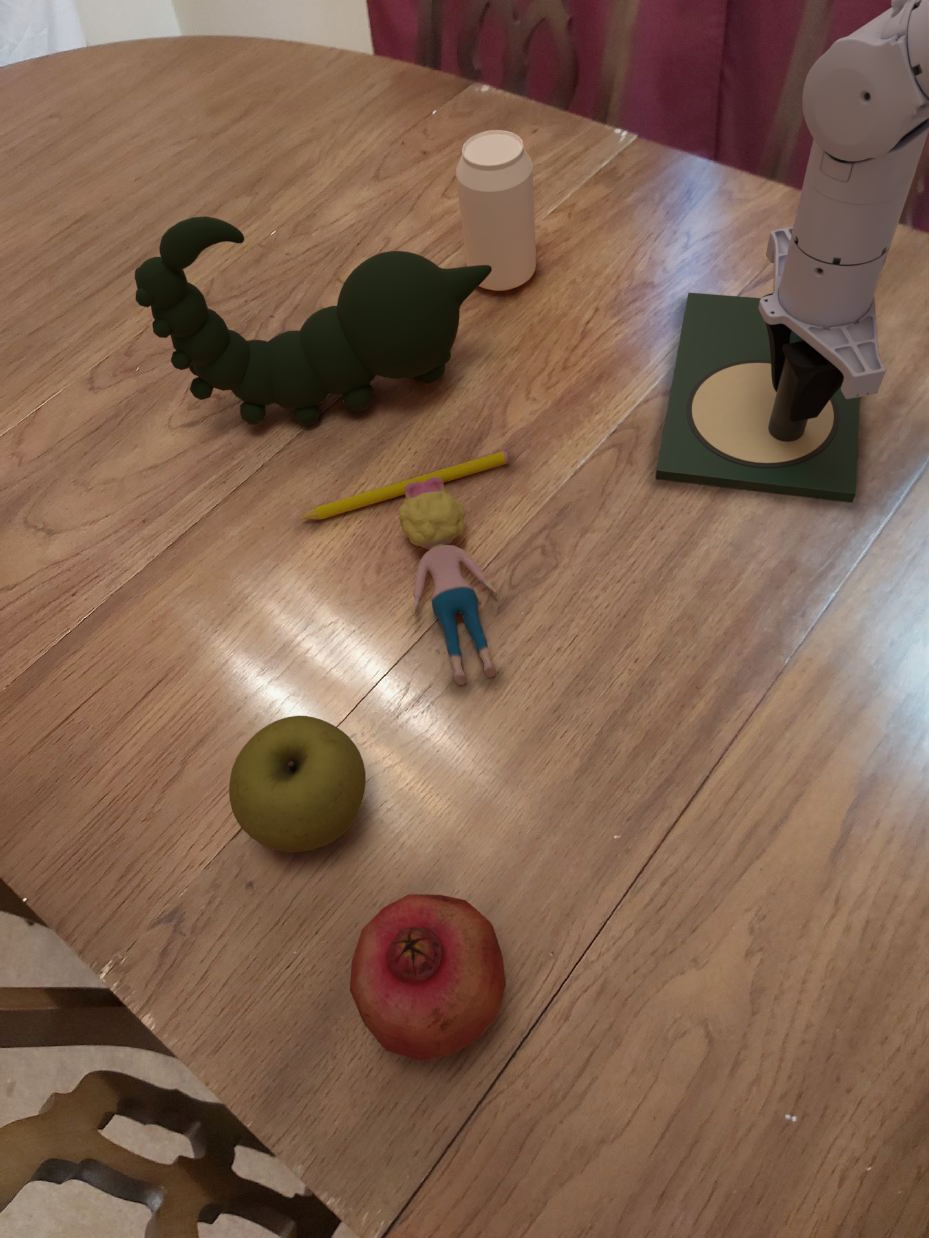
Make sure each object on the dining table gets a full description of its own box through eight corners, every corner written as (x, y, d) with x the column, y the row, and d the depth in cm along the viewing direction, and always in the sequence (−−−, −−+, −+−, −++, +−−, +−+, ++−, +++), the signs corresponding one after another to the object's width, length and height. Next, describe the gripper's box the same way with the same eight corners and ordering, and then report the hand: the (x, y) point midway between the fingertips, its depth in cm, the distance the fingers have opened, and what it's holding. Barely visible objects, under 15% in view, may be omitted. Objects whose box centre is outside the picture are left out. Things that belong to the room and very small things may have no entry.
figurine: (520, 676, 63) (466, 502, 70) (518, 646, 59) (461, 465, 66) (434, 698, 62) (389, 521, 70) (426, 669, 58) (380, 485, 66)
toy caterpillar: (227, 476, 76) (521, 388, 75) (110, 289, 60) (481, 174, 59) (219, 397, 81) (494, 314, 80) (109, 205, 65) (451, 98, 64)
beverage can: (547, 285, 82) (544, 156, 72) (482, 306, 82) (469, 179, 72) (521, 245, 86) (514, 117, 76) (458, 265, 85) (443, 138, 75)
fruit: (350, 1056, 50) (307, 1025, 42) (382, 906, 54) (348, 851, 46) (498, 1082, 49) (483, 1056, 40) (519, 927, 53) (510, 874, 45)
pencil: (505, 456, 72) (504, 447, 71) (509, 465, 71) (508, 456, 70) (299, 518, 71) (295, 510, 70) (301, 528, 70) (298, 519, 69)
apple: (399, 821, 57) (379, 776, 51) (284, 895, 55) (250, 857, 49) (340, 730, 61) (315, 677, 55) (231, 796, 59) (193, 750, 53)
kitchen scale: (687, 301, 79) (688, 291, 78) (859, 316, 77) (863, 304, 76) (655, 479, 69) (656, 469, 68) (852, 503, 67) (856, 492, 66)
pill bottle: (797, 412, 70) (828, 304, 62) (810, 438, 69) (843, 331, 60) (762, 419, 70) (788, 312, 62) (774, 445, 69) (803, 339, 60)
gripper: (736, 178, 59) (709, 344, 71) (821, 327, 52) (775, 486, 63) (844, 158, 60) (800, 326, 71) (945, 303, 52) (877, 466, 63)
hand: (794, 400), depth 67 cm, fingers closed on pill bottle, 2 cm apart
